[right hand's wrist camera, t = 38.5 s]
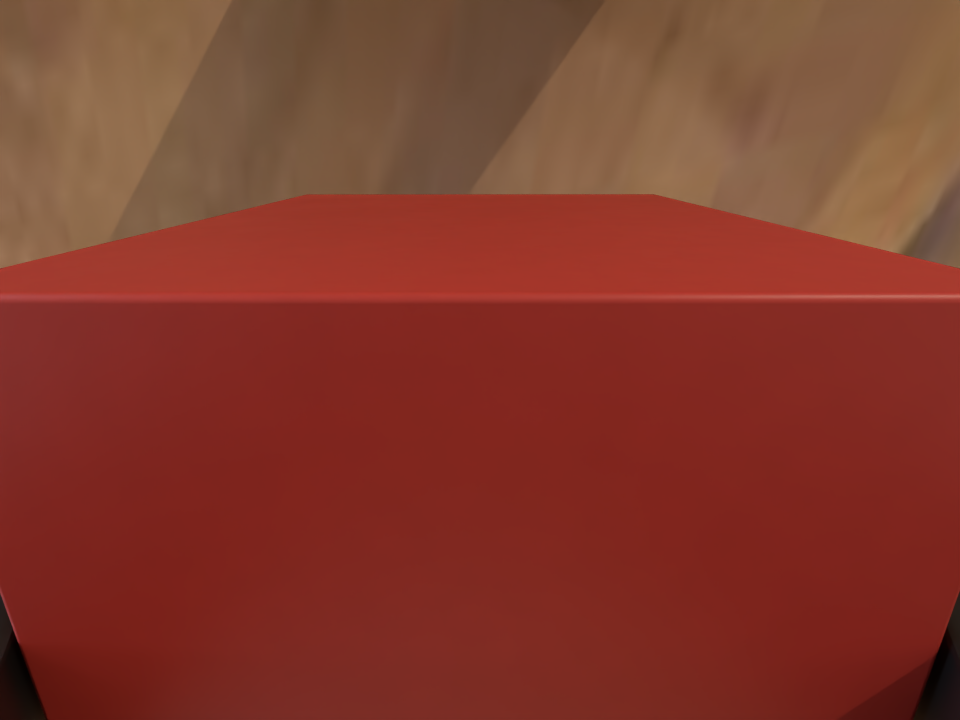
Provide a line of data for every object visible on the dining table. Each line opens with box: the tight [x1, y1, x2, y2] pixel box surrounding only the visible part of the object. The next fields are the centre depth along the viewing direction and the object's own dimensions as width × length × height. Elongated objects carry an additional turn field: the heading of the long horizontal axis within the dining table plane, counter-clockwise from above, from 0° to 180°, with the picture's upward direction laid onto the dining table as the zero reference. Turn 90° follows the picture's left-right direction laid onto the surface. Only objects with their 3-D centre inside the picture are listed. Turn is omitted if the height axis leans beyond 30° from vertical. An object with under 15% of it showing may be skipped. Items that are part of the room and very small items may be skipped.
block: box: [0, 194, 960, 720], centre depth 11 cm, size 9×9×10 cm
